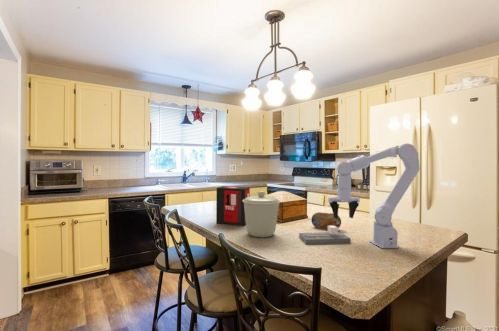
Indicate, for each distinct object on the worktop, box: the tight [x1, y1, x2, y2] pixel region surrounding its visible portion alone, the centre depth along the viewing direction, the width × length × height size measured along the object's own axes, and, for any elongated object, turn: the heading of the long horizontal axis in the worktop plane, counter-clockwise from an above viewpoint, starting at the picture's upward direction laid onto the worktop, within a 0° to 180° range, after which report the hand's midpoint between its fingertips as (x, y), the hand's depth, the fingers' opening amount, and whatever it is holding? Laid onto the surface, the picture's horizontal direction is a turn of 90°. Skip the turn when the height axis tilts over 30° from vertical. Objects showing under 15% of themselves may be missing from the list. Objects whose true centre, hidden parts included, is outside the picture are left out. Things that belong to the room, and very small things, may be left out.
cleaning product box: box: [215, 185, 251, 227], centre depth 150 cm, size 16×9×20 cm, turn 73°
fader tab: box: [327, 225, 339, 235], centre depth 121 cm, size 4×3×4 cm
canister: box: [242, 190, 281, 238], centre depth 128 cm, size 18×18×21 cm
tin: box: [310, 212, 342, 230], centre depth 140 cm, size 15×3×8 cm, turn 62°
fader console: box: [298, 231, 352, 245], centre depth 120 cm, size 10×20×3 cm, turn 97°
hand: (343, 217), depth 122 cm, fingers open, 7 cm apart
